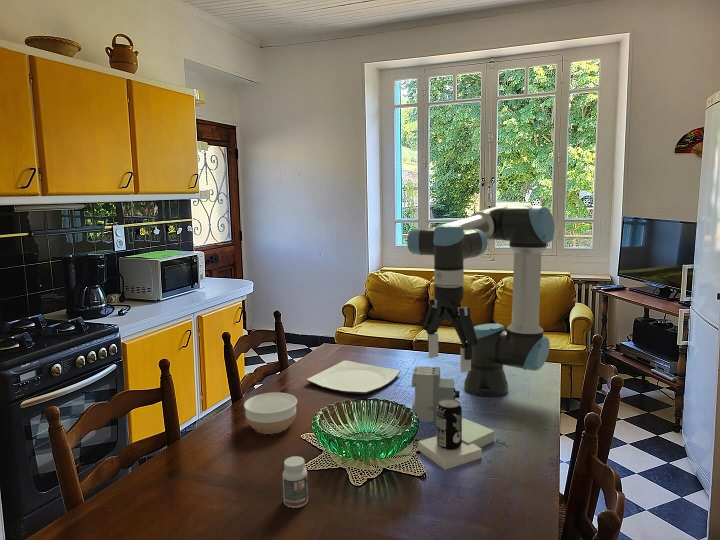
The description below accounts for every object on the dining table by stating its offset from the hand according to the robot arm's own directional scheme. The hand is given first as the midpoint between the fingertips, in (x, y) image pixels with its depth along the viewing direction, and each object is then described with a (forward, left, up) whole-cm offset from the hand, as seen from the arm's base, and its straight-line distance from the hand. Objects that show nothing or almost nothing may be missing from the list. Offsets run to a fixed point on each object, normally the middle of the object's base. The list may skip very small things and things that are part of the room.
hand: (448, 364), depth 140 cm
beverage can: (+1, +1, -22) cm, 22 cm away
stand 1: (+1, +1, -25) cm, 25 cm away
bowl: (+37, -40, -25) cm, 60 cm away
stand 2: (-8, -3, -25) cm, 26 cm away
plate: (-3, -62, -25) cm, 67 cm away
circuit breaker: (-10, -20, -25) cm, 34 cm away
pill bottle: (+45, +1, -25) cm, 51 cm away
